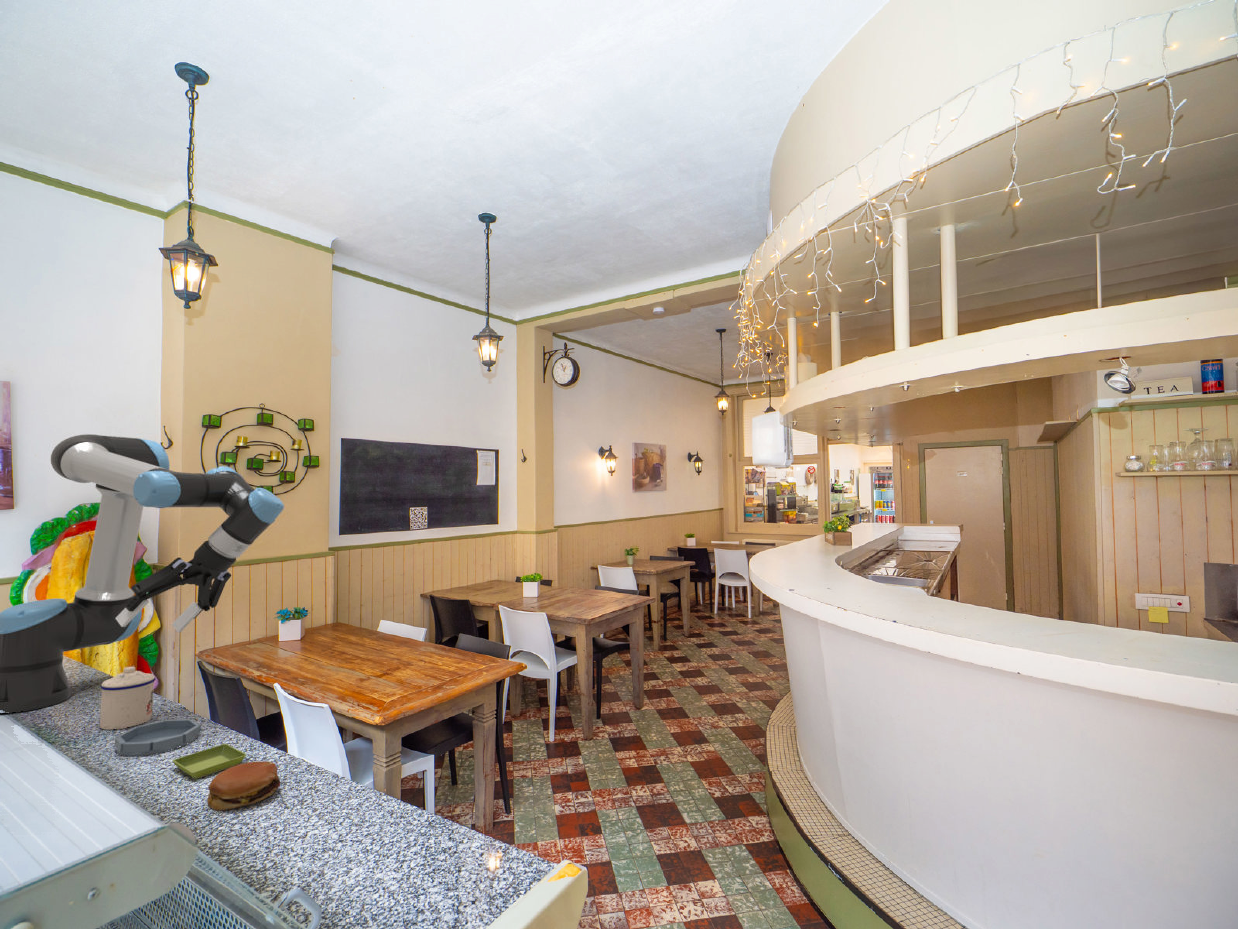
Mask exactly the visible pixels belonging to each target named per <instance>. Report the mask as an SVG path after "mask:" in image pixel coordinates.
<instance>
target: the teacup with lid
mask: <svg viewBox="0 0 1238 929" xmlns="http://www.w3.org/2000/svg"><path fill="white" fill-rule="evenodd" d="M155 681H156V677H155V675H154V674H153V673H145V672H143V671H141V670H136V667H135V666H126V667H124V668H123V672H121V673H118V674H117V675H115V676H113V677H111V678H109V679H105V680H103V682H102V683H101V685H100V689H101V697H100V698H101V699H100V713H99V714H100V716H99V727H100V729H102V730H107V731H114V730H113V729H117V730H122V729H123V730H124V729H128V728H127V727H130V728H132V727H131V726H134V727H137V726H140V725H139V724H141V725H143V724H145V723H147V722H149V721H150V720H151V719H152V718H153V705H154V688H155V687H154V686H155V685H154V684H155ZM144 722H145V723H144ZM142 723H143V724H142ZM136 725H137V726H136Z"/></svg>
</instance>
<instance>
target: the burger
mask: <svg viewBox="0 0 1238 929" xmlns="http://www.w3.org/2000/svg"><path fill="white" fill-rule="evenodd" d="M278 775H279V774H278V767H277V765H276V763H274V762H273V761H262V760H261V761H250V762H244V763H239V764H238V765H236V766H233V767H230V768H227V769H224V770H222V771H220V772H219V773H218V774H217V775H216V776H215V777H213V779H212V780H211V782H210V784H209V786H208V791H209V793H208V795H207V805H208V807H209V808H211V809H212V810H214V809H215V810H214V811H227V810H226V809H229V810H232V808H233V809H238V808H242V807H245V806H244V805H246V806H250V805H249V804H252V805H255V804H257V803H259V802H261V801H263V800H265V799H267V798H268V796H269V797H270V796H272V795H273V794H274V793H275V792H276V791H277V789H278V788H280V787H281V781H280V777H279V776H278ZM258 801H259V802H258ZM256 802H257V803H256ZM241 806H242V807H241Z"/></svg>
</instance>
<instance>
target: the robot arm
mask: <svg viewBox="0 0 1238 929" xmlns="http://www.w3.org/2000/svg"><path fill="white" fill-rule="evenodd" d="M169 459H170V458H169V456H168V453H167V451H166V449H165V448H164V446H162V444H160V443H159V442H157V441H155V440H150V439H145V438H144V439H143V438H138V437H125V436H113V435H99V434H88V433H87V434H79V435H74V436H70V437H68V438H66V439H63V440H61V441H60V442H59V443H58V444H57V445H56V446H55V447H54V448H53V450H52V452H51V455H50V464H51V466H52V468H53V470H54V471H55V473H57V475H59V476H61V477H62V478H64V479H66V480H69V481H73V482H75V483H80V484H87V483H88V484H90V483H93V484H95V489H96V490H97V491H98V492H99V493H100V494H101V498H100V502H99V503H100V504H99V508H98V514H97V519H96V525H95V529H94V536H93V541H92V545H91V551H90V556H89V561H88V567H87V572H86V577H85V584H84V586H83V587H81V588H80V589H79V590H76V591H75V593H74V599H73V602H67V600H66V599H64V598H49V599H42V600H41V599H39V600H33V601H30V602H24V603H20V604H17V605H16V604H15V605H12V606H9V607H7V608H6V609H3V610H2V611H0V710H3V711H5V712H9V713H8V714H13V713H12V712H16V713H22V712H21V711H23V712H27V711H34V710H39V709H42V708H46V707H51V706H54V705H57V704H60V703H63V702H65V701H66V700H68V699H70V697H71V692H72V691H71V688H72V687H71V684H70V682H69V679H68V676H67V674H66V671H65V669H64V666H63V665H64V664H63V661H64V660H63V658H64V653H65V652H70V651H75V650H76V651H77V650H80V649H86V648H92V647H96V646H98V647H99V646H105V645H111V644H113V643H116V642H117V643H118V642H120V641H124V640H127V639H128V638H129V637H131V636H132V635H134V633H135V632H136V631H137V629H138V627H139V625H140V622H141V620H142V614H143V611H142V610H143V609H144V608H145V607H146V606H147V604H149V603H150V601H149V599H152V598H154V597H156V596H158V595H160V594H162V593H165V592H166V591H169V590H171V589H174V588H176V587H178V586H184V585H187V584H188V585H194V586H196V587H198V589H197V602H196V601H192V602H191V603H190V605H189V606H188V607H186V609H185V610H184V611H183V612H182V613H181V614H180V615H179V616H178V617H177V618H176V619H175V620H174V622H172V624H171V626H172V627H173V628H174V630H175V631H176V632H177V633H182V631H183V630H185V629H186V627H187V626H189V624H190V623H191V622H192V621H193V620H195V619H196V618H197V617H198V616H199V615H201V612H203V611H204V612H209V611H210V609H211V608H212V609H213V608H216V607H217V606H218V603H219V602H220V598H221V596H222V594H223V590H224V588H225V585H226V583H227V582H228V580H229V579H230V578H231V577H232V574H231V573H230V572H229V571H228V570H229V569H230V568H231V567H232V566H233V564H234V563H236V561H237V559H238V558H240V557H241V556H242V554H244V553H245V551H247V549H248V548H249V547H250V546H251V545H252V544H254V542H255V541H256V540H257V539H258V538H259V536H261V535H262V534H263V533H264V532H265V531H266V530H267V529H268V528H269V526H271V525H272V524H274V523H275V522H276V519H277V518H278V517H279V516H280V514H281V513H282V512H283V510H284V509H285V505H284V502H283V501H282V500H281V498H279V497H278V496H276V495H275V494H274V493H272V492H271V491H270V490H268V489H265V488H263V487H256V488H255V489H254V488H253V487H252V486H251V485H250V483H248V482H247V481H246V480H245V478H244V477H243V476H242V475H241V474H240V473H238V472H237V471H236V470H234V469H233V468H232V467H230V466H225V465H222V466H217V467H215V468H211V469H210V470H208V471H207V472H205V473H202V472H201V473H199V472H198V473H196V472H195V473H193V472H180V471H174V470H170V460H169ZM144 507H146V508H156V509H157V508H158V509H165V508H219V509H221V510H222V511H223V512H224V513H225V514H226V515H227V518H226V519H225V520H224V521H223V522H222V523H221V524H220V525H219V526H218V527H217V528H216V529H215V531H213V532H212V533H211V534H210V535H209V537H208V540H205V541H204V542H203V543H202V544H201V545H200V546H199V547H198V548H197V549H196V550H195V551H194V555H193V558H192V559H191V560H189V561H184V560H183V559H182V557H179V556H178V557H176V558H175V559H174V560H173V561H171V562H170V563H169V564H168V565H166V566H165V567H163V568H161V569H159V570H157V571H156V572H154V573H152V574H151V575H148V576H147V577H145V578H144V579H141V580H140V581H138V582H137V583H135V584H133V585H132V586H131V588H130V587H129V583H130V578H131V573H132V569H133V568H132V567H133V565H134V564H133V563H134V558H135V553H136V547H137V543H138V537H139V530H140V527H141V520H142V515H143V510H144Z"/></svg>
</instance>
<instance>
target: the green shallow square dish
mask: <svg viewBox="0 0 1238 929" xmlns="http://www.w3.org/2000/svg"><path fill="white" fill-rule="evenodd" d="M246 756H247V754H246V753H245V752H243V751H241V750H239V749H237V748H236V747H234V746H231V745H230V744H228V743H224V744H219V745H217V746H213V747H210V748H206V749H204V750H200V751H196V752H194V753H191V754H187V755H184V756H181V757H177V758H174V759H172V763H173V764H174V765H175V766H176V767H177V768H178V769H179V770H180V769H181V771H182V772H183V773H185V774H186V775H188V776H190V777H192V778H193V779H196V780H197V778H198V779H200V777H201V778H203V777H206V776H209V775H212V773H213V774H215V773H218V772H222V771H225V770H227V769H229V768H231V767H234V766H237V765H240V764H241V763H242V762H243V761H244V759H245V758H246Z"/></svg>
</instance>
